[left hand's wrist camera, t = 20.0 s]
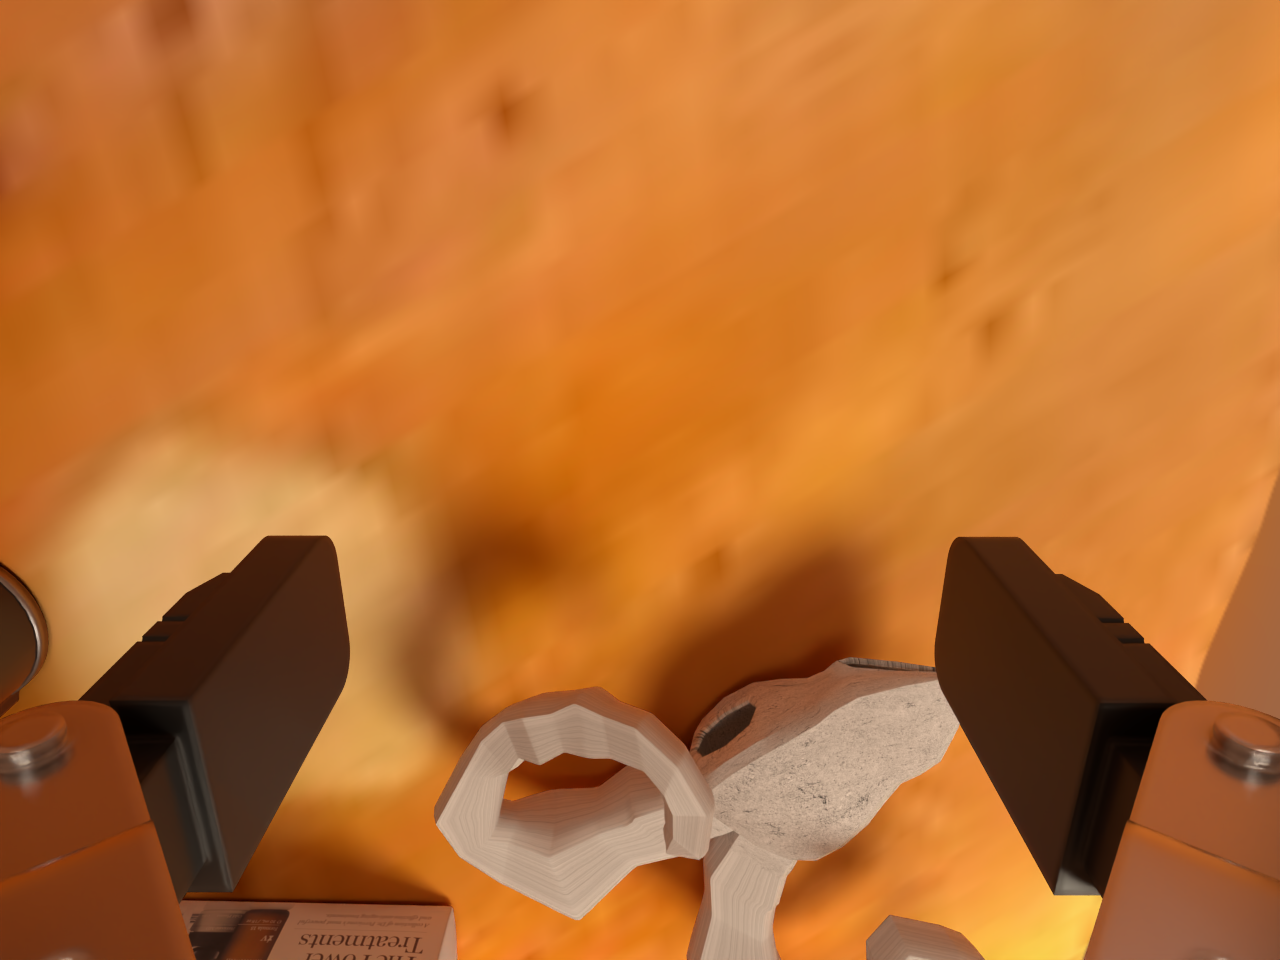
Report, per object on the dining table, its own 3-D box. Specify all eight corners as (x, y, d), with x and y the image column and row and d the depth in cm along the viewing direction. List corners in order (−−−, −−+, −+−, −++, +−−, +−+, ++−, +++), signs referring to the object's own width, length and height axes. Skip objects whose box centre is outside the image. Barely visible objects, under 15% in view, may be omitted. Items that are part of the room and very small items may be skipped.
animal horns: (947, 944, 55) (1017, 1146, 44) (546, 980, 57) (518, 1181, 46) (930, 556, 44) (1017, 694, 33) (441, 619, 46) (372, 768, 36)
